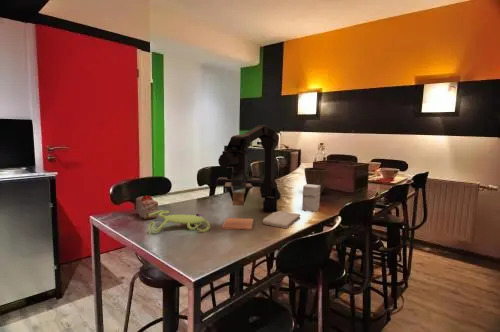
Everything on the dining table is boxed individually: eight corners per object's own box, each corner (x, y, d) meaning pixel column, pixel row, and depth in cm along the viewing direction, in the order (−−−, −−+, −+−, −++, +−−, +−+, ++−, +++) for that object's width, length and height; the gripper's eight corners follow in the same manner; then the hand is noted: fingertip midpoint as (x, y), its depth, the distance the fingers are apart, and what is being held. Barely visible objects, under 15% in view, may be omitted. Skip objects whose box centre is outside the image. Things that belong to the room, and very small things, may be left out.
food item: (161, 218, 135) (160, 197, 134) (143, 221, 130) (142, 200, 128) (149, 211, 145) (148, 192, 144) (133, 214, 140) (132, 194, 139)
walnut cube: (244, 202, 128) (244, 192, 128) (243, 205, 124) (243, 194, 123) (234, 202, 129) (234, 192, 128) (232, 205, 124) (232, 194, 124)
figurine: (150, 220, 132) (150, 208, 132) (210, 219, 136) (210, 207, 135) (140, 235, 114) (140, 221, 114) (210, 233, 118) (209, 219, 117)
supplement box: (301, 209, 152) (302, 185, 150) (306, 206, 158) (306, 183, 156) (315, 212, 148) (316, 187, 146) (319, 208, 155) (320, 184, 153)
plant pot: (299, 191, 194) (300, 167, 192) (319, 190, 198) (320, 167, 196) (310, 196, 180) (311, 171, 178) (331, 195, 184) (333, 170, 182)
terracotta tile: (253, 220, 133) (253, 218, 133) (251, 229, 121) (251, 228, 121) (226, 219, 134) (226, 218, 134) (222, 228, 122) (222, 227, 122)
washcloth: (301, 218, 138) (301, 212, 138) (287, 230, 123) (287, 223, 122) (277, 215, 144) (278, 208, 143) (261, 225, 128) (262, 218, 128)
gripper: (213, 168, 117) (213, 206, 119) (260, 169, 116) (259, 207, 118) (218, 164, 128) (218, 199, 130) (261, 165, 127) (260, 200, 129)
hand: (238, 201), depth 126 cm, fingers closed on walnut cube, 5 cm apart
